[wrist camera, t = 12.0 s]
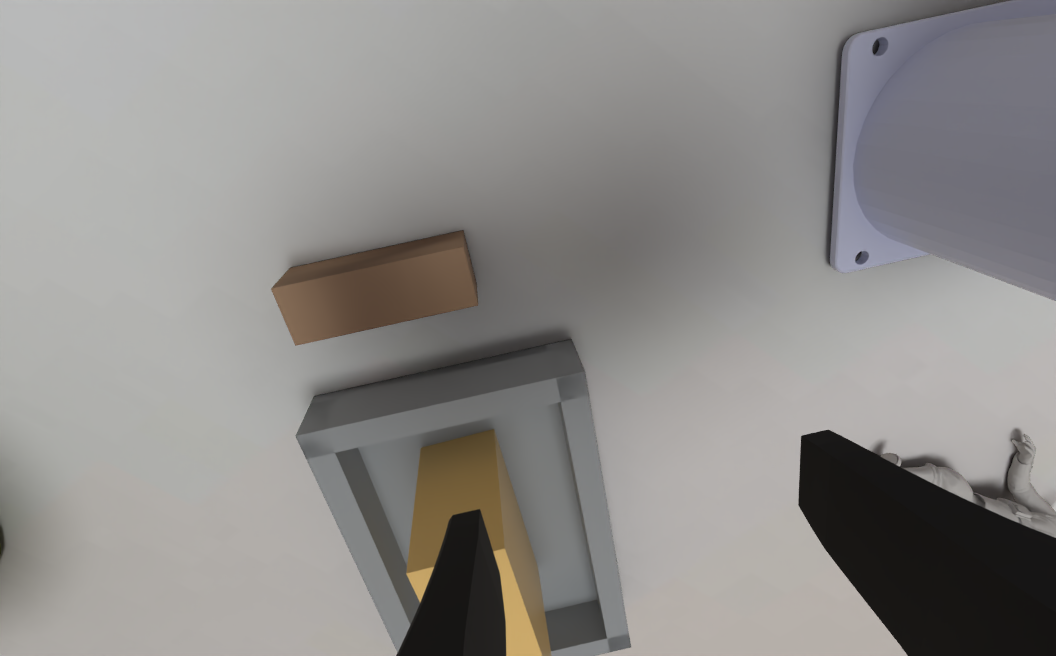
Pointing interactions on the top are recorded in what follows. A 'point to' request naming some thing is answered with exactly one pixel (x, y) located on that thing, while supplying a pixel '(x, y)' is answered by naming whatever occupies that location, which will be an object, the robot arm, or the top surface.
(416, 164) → the top surface
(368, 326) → the brown block pair
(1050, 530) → the soldier figure
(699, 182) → the top surface
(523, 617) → the block
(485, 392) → the tray
